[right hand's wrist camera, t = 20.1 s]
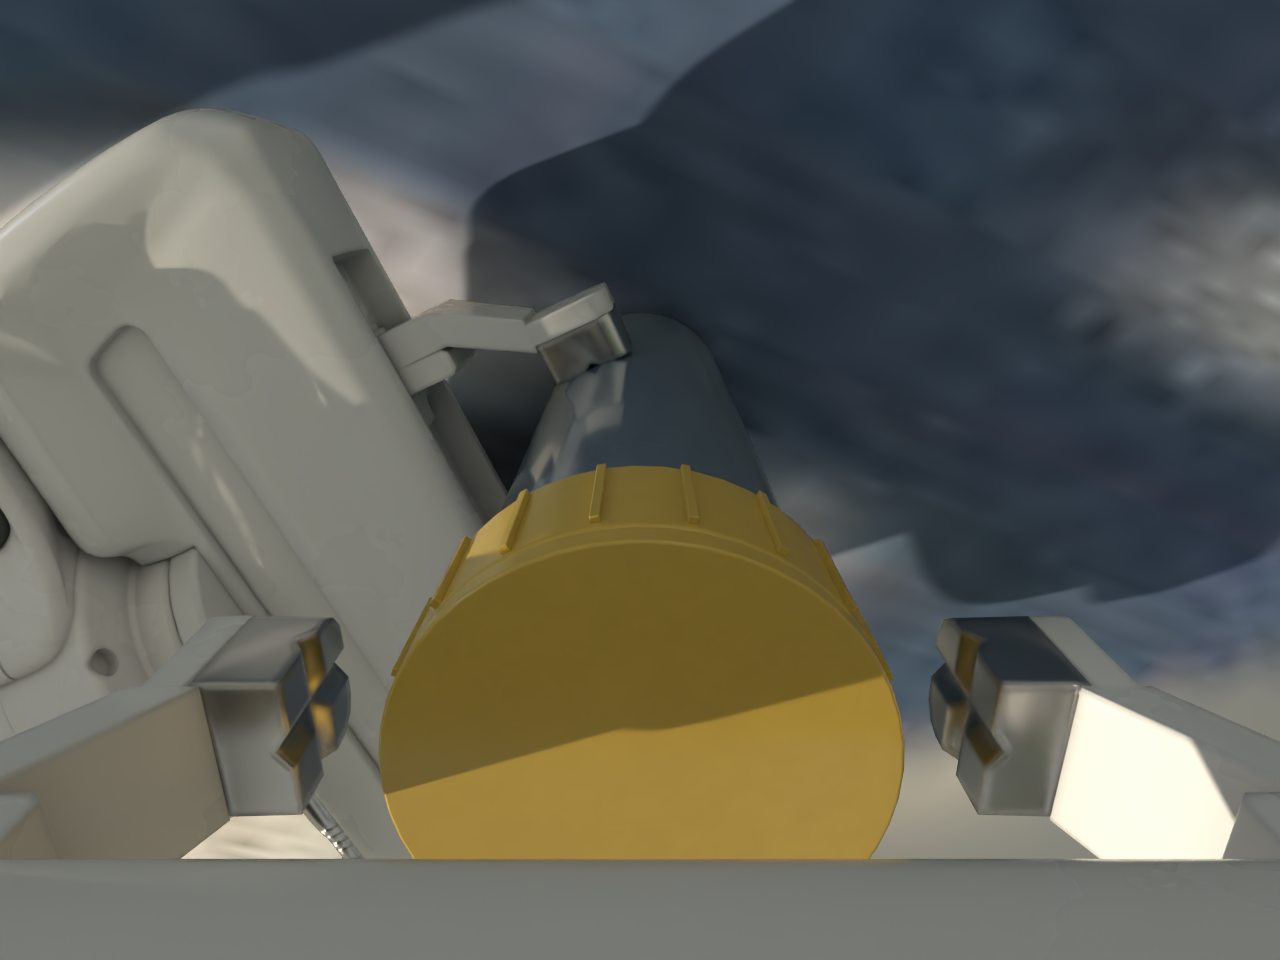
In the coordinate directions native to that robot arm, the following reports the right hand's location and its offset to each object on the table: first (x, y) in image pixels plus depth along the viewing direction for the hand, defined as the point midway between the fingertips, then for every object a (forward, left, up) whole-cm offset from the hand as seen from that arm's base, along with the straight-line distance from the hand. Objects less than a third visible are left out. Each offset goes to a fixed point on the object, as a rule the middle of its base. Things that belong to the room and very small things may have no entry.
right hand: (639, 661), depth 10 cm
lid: (0, 0, +2) cm, 2 cm away
